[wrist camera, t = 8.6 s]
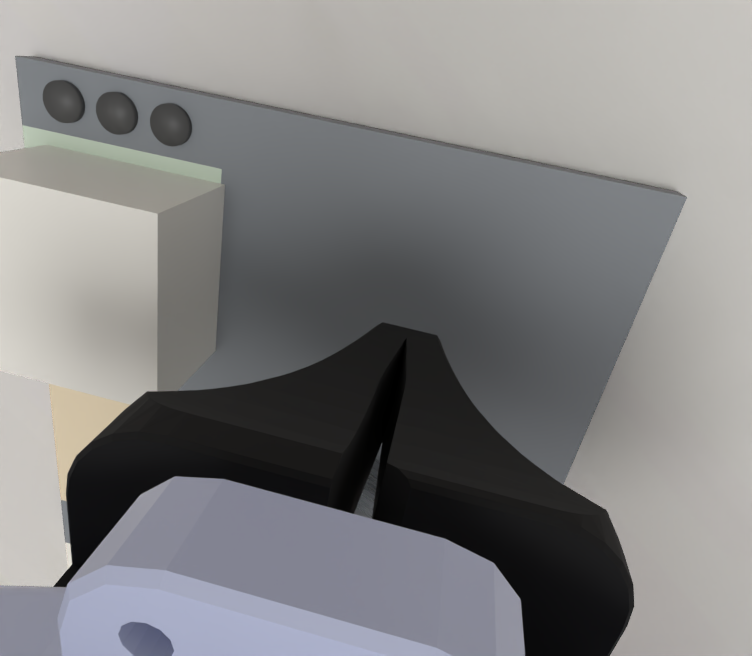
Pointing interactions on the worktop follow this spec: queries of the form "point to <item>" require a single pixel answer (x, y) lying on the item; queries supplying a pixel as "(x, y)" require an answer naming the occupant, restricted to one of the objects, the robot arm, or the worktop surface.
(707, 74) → the worktop surface
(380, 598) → the robot arm
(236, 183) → the board
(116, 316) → the white block
